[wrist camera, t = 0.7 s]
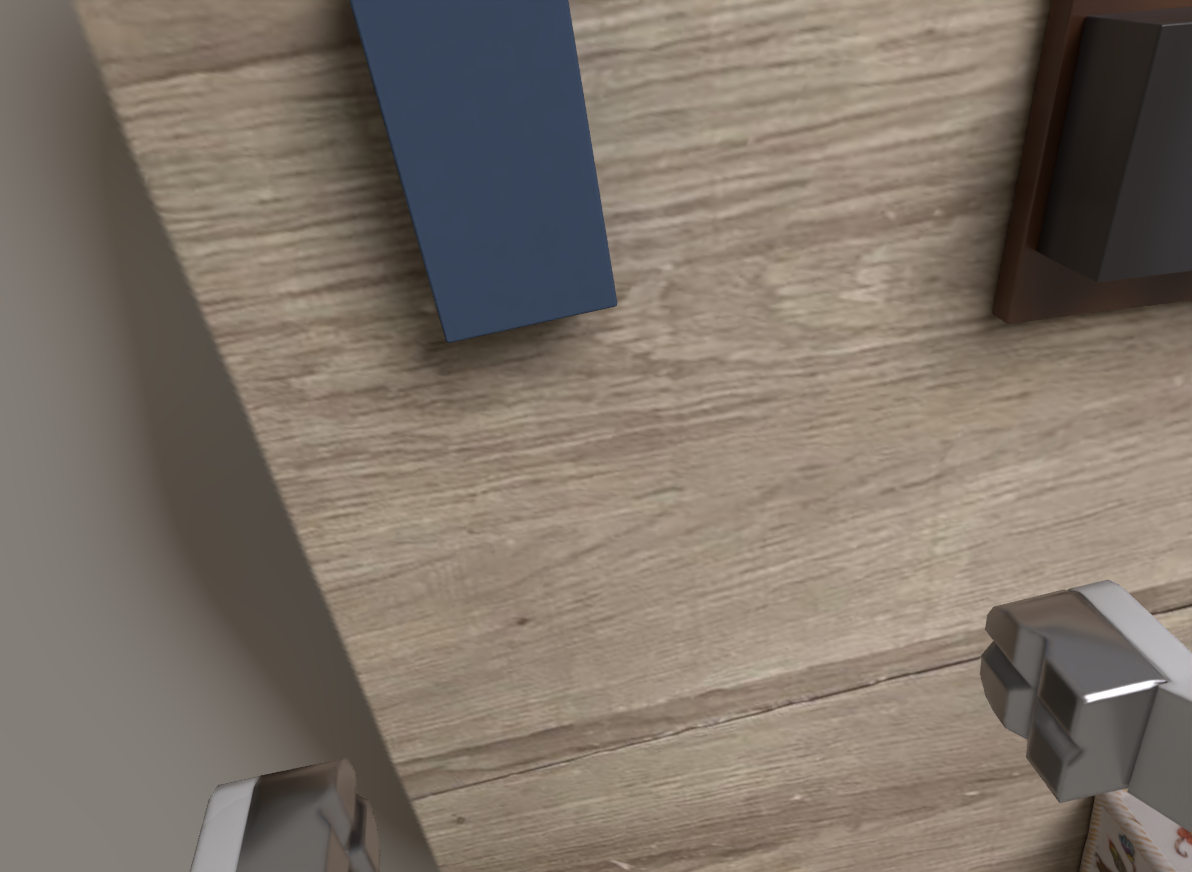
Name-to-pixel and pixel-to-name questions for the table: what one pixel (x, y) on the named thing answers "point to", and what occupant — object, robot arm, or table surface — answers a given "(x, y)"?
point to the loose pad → (492, 157)
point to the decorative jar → (1133, 838)
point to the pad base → (1042, 272)
